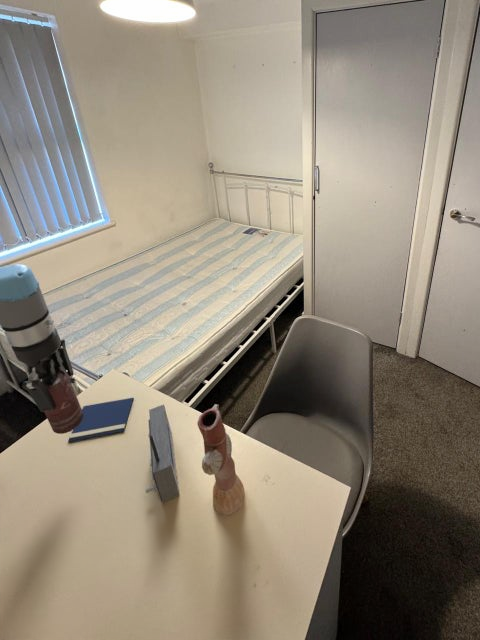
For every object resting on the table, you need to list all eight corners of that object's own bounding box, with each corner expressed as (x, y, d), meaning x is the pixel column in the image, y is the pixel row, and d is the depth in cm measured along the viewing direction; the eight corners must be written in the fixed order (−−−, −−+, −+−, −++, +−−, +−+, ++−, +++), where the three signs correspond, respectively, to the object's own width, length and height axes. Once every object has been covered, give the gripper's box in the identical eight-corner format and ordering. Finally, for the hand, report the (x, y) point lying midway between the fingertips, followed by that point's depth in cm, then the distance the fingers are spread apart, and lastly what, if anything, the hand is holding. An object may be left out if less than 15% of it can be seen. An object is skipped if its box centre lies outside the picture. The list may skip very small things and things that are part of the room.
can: (79, 405, 79) (61, 363, 74) (87, 421, 76) (70, 378, 70) (49, 422, 75) (29, 379, 70) (57, 440, 71) (35, 396, 66)
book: (68, 442, 87) (67, 440, 87) (84, 407, 97) (83, 405, 97) (124, 431, 90) (123, 429, 90) (133, 398, 100) (133, 396, 99)
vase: (225, 472, 80) (211, 387, 68) (251, 484, 78) (242, 398, 65) (199, 520, 71) (178, 432, 59) (227, 535, 69) (211, 446, 56)
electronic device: (180, 494, 76) (165, 440, 68) (149, 509, 73) (129, 454, 65) (171, 431, 90) (158, 379, 82) (145, 441, 87) (129, 389, 79)
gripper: (34, 362, 60) (71, 443, 69) (70, 310, 74) (97, 383, 84) (-13, 369, 58) (32, 450, 68) (33, 314, 73) (65, 388, 82)
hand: (68, 413), depth 76 cm, fingers open, 3 cm apart
